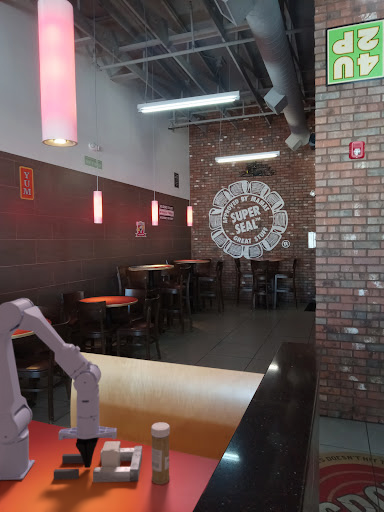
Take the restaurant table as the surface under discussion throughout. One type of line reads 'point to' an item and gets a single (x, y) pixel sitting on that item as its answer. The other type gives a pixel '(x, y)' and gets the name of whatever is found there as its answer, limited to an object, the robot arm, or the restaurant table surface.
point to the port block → (121, 472)
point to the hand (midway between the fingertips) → (88, 465)
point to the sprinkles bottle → (160, 452)
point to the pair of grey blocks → (68, 472)
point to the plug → (111, 454)
